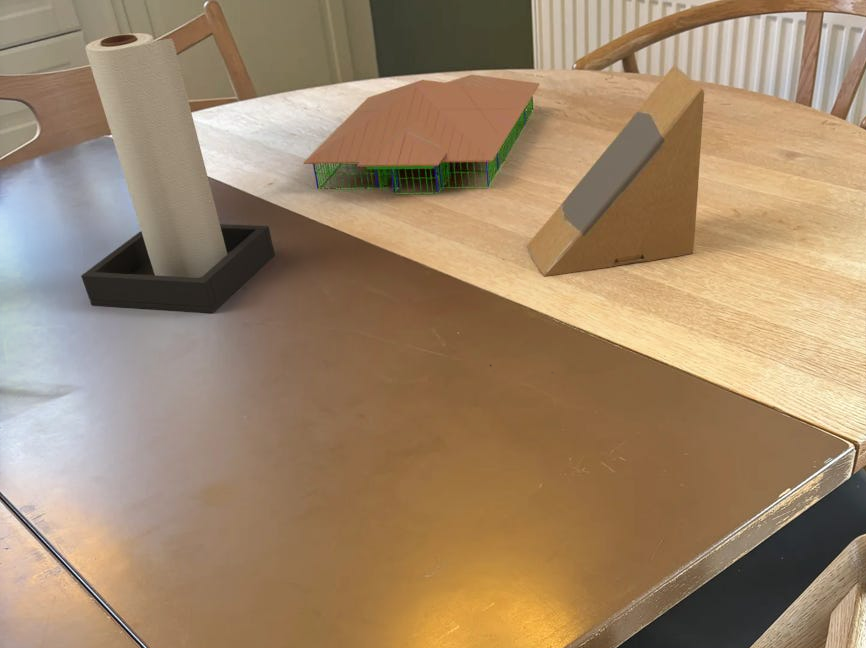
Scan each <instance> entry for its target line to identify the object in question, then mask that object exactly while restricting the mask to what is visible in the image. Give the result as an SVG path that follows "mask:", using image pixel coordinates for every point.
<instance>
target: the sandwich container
mask: <svg viewBox="0 0 866 648" xmlns="http://www.w3.org/2000/svg"><path fill="white" fill-rule="evenodd" d="M704 99H705V91H704V89H703V88H702V87H701V86H700V85H698V83H696V82H695V81H694V80H693V79H692V78H690V76H688V75H687V74H686V73H685V72H684V71H683V70H682V69H680V68H679V67H678V66H677V65H675V64H674V65H673V66H672V67H671V68H670V69H669V70H668V71H667V73H666V74H665V75H664V77H662V79H661V80H660V82H659V83H658V84H657V85H656V87H655V88H654V89H653V90H652V92H651V93H650V95H649V96H648V97H647V98H646V99H645V101H644V102H643V103H642V105H641V106H640V107H639V108H638V110H636V112H635V113H634V115H633V116H632V117H631V119H629V121H628V122H627V123H626V125H625V126H624V127H623V128H622V130H621V131H619V133H618V135H617V136H616V137H615V138H614V139H613V141H612V142H611V143H610V144H609V146H607V148H606V149H605V150H604V152H603V153H602V154H601V155H600V156H599V157H598V159H597V160H596V161H595V163H593V165H592V166H591V168H590V169H589V170H588V171H587V172H586V173H585V175H584V176H583V177H582V178H581V180H580V181H579V182H578V183H577V184H576V186H575V187H574V188H573V189H572V191H571V192H570V193H569V194H568V195H567V197H566V198H565V200H564V201H562V203H561V204H560V205H559V206H558V208H557V209H556V210H555V211H554V213H553V214H552V215H551V216H550V217H549V218H548V220H546V222H545V223H544V224H543V225H542V226H541V228H539V230H538V231H537V232H536V234H535V235H534V236H533V237H532V239H530V241H529V242H528V243H527V244H526V246H527V248H528V249H527V250H528V251H529V253H530V255H531V259H532V260H533V262H534V263H535V265H536V266H537V268H538V269H539V270H540V272H541V274H542V275H543V276H544V277H547V276H548V277H549V276H555V275H562V274H569V273H576V272H584V271H592V270H599V269H605V268H612V267H617V266H622V265H630V264H634V263H635V264H636V263H642V262H651V261H656V260H662V259H663V260H664V259H669V258H674V257H680V256H685V255H691V254H694V252H695V251H694V250H695V238H696V237H695V236H696V225H697V224H696V223H697V222H696V221H697V208H698V193H699V179H700V177H699V176H700V163H701V149H702V147H701V146H702V132H703V119H704V102H705V100H704Z"/></svg>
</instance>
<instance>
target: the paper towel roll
mask: <svg viewBox="0 0 866 648" xmlns="http://www.w3.org/2000/svg"><path fill="white" fill-rule="evenodd" d="M175 46H176V45H175V42H174V40H173V38H172V37H171V38H166V39H159V40H154V37H153V35H151V34H149V33H141V32H140V33H139V32H136V33H135V32H134V33H123V34H116V35H111V36H106V37H102V38H99V39H95V40H93V41H91V42H89V43H88V44H86V45H85V48H84V49H85V52H86V56H87V59H88V63H89V66H90V69H91V72H92V75H93V76H92V77H94V82H95V85H96V89H97V92H98V96H99V99H100V101H101V105H102V108H103V111H104V114H105V117H106V122H107V125H108V127H109V130H110V134H111V137H112V140H113V144H114V147H115V150H116V154H117V157H118V160H119V164H120V166H121V170H122V173H123V177H124V179H125V183H126V187H127V189H128V192H129V196H130V199H131V202H132V206H133V209H134V212H135V216H136V218H137V219H136V220H137V222H138V226H139V229H140V231H141V232H142V235H143V238H144V242H145V245H146V248H147V251H148V255H149V258H150V261H151V264H152V268H153V271H154V274H155V276H174V277H192V278H200V277H202V276H203V275H205V274H206V273H207V272H208V271H209V270H210V269H211V268H213V267H214V266H215V265H216V264H217V263H218V262H219V261H221V260H222V259H223V258H224V257H225V256H226V255H227V251H226V247H225V243H224V239H223V235H222V231H221V227H220V224H221V223H220V220H219V216H218V212H217V207H216V205H215V201H214V196H213V191H212V189H211V186H210V185H211V184H210V181H209V180H210V179H209V176H208V173H207V172H208V171H207V169H206V165H205V161H204V157H203V153H202V149H201V145H200V141H199V137H198V133H197V129H196V125H195V121H194V118H193V113H192V110H191V106H190V102H189V97H188V94H187V93H188V92H187V89H186V85H185V82H184V78H183V74H182V69H181V66H180V63H179V58H178V55H177V54H178V53H177V50H176V47H175Z"/></svg>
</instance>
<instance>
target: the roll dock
mask: <svg viewBox="0 0 866 648" xmlns="http://www.w3.org/2000/svg"><path fill="white" fill-rule="evenodd" d="M220 227H221V231H222V235H223V239H224V243H225V247H226V251H227V255H226V256H225V257H224V258H223V259H222V260H221V261H219V262H218V263H217V264H216V265H215V266H214V267H213V268H211V269H210V270H209V271H208V272H207V273H206V274H205V275H203V276H202V277H200V278H192V277H174V276H155V274H154V271H153V268H152V264H151V261H150V258H149V255H148V251H147V248H146V245H145V242H144V238H143V235H142V232H141V230H140V231H139V232H137V233H136V234H135V235H133V236H132V237H131V238H129V239H128V240H127V241H125V242H124V243H123V244H122V245H119V247H117V248H116V249H115V250H113V251H112V252H111V253H109V254H108V255H107V256H106V257H104V258H103V259H101V260H100V261H98V262H97V263H96V264H94V265H93V266H92V267H90V268H89V269H87V271H85V272H84V273H82V274H81V276H80V277H81V280H82V282H83V285H84V288H85V291H86V294H87V297H88V300H89V303H90V305H91V306H100V307H115V308H128V309H129V308H130V309H145V310H161V311H177V312H191V313H206V314H214V313H216V311H217V310H218V309H219V308H221V306H222V305H224V303H225V302H227V301H228V300H229V299H230V298H231V297H232V296H233V295H234V294H235V293H236V292H237V291H238V290H239V289H241V287H242V286H244V285H245V284H246V283H247V282H248V281H249V280H250V279H251V278H252V277H253V276H254V275H255V274H257V272H258V271H260V270H261V268H263V267H264V266H265V265H266V264H267V263H268V262H269V261H270V260H271V259H272V258H274V257H275V254H276V253H275V250H274V245H273V240H272V235H271V231H270V227H269V226H268V225H252V224H251V225H250V224H249V225H248V224H247V225H246V224H224V223H220Z"/></svg>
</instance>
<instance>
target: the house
mask: <svg viewBox="0 0 866 648" xmlns="http://www.w3.org/2000/svg"><path fill="white" fill-rule="evenodd" d="M539 86H540V83H539V82H532V81H525V80H517V79H510V78H501V77H495V76H494V77H493V76H486V75H477V74H470V75H466V76H462V77H460V78H456V79H452V80H450V81H446V82H445V81H435V80H427V79H421V80H418V81H415V82H412V83H408V84H405V85H402V86H399V87H396V88H393V89H390V90H387V91H383V92H381V93H377V94H374V95H371V96H368V97H367V98H366V99H365V100H364V101H363V102H362V103H361V104H360V105H359V106H358V107H357V108H356V109H355V110H353V112H352V113H351V114H350V115H349V116H348V117H346V119H345V120H344V121H343V122H342V123H341V124H340V125H339V126H338V127H337V128H335V130H334V131H333V132H332V133H331V134H329V136H328V137H327V138H326V139H325V140H324V141H323V142H322V143H321V144H320V145H319V146H318V147H317V148H316V149H315V150H313V152H312V153H311V154H310V155H309V156H308V157H307V158H306V159H305V160H303V164H304V165H308V164H309V165H312V167H313V172H314V177H315V183H316V189H318V190H324V188H326V184H325V182H326V181H327V180H328V179H329V186H330V187H332V183H331V176H332V175H334V178H335V184H336V187H335V188H336V189H339V190H342V189H346V190H348V189H357V190H358V189H359V187H358V186H357V179H356V175H355V174H357V175H358V172H355V166H354V165H356V166H357V167H359V174H360V181H361V189H364V183H363V177H362V175H366V177H367V185H368V189H371V187H370V181H369V175H368V174H369V173H368V170H370V176H371V182H372V189H375V185H374V179H373V175H375V180H376V189H383V188H384V186H385V185H386V189H389V186H388V182H389V180H390V179H391V183H392V191H393V194H394V195H396V194H397V195H399V194H400V195H403V194H407V195H409V194H410V195H413V194H414V195H415V194H422V195H423V194H427V195H428V194H435V192H434V187H433V185H431V192H429V186H428V184H426V190H427V192H423V191H422V183H421V181H419V186H420V187H419V188H420V192H416V189H415V181H414V180H416V179H417V180H418V179H419V180H421V179H425V181H426V182H425V183H428V179H429V180H430V182H431V184H433V179H435V183H436V184H435V185H436V194H440V193H441V191H442V189H489V188H490V187H491V185H492V183H493V181H494V180H495V178H496V176H497V175H496V174H498V173H499V171H500V170H499V169H501V168H499V167H500V166H501V167H502V166H503V164H504V163H503V160H504V159H505V158H506V156H507V153H508V152H509V151H510V149H511V147H512V146H513V145H514V146H515V144H514V142H515V140H516V138H517V136H518V135H519V134H520V132H521V130H522V128H523V126H524V125H525V124H526V121H527V119H528V117H529V115H531V114H530V113H532V110H533V111H534V95H535V93H536V91H537V89H538V88H539ZM526 109H527V111H526ZM526 125H527V124H526ZM521 133H522V132H521ZM520 135H521V134H520ZM515 143H516V142H515ZM511 150H512V149H511ZM510 152H511V151H510ZM507 157H508V156H507ZM506 159H507V158H506ZM451 163H452V164H451ZM458 163H459V168H460V169H459V170H462V163H465V165H466V170H469V164H468V163H473V164H472V170H474V171H455V170H456V169H455V166H457V167H458ZM475 163H478V165H479V167H480V170H481V171H475V170H476V166H475ZM481 163H484V164H485V170H486V171H485V177H486V186H484V182H483V178H481V183H482V184H481V186H470V184H468V186H464V184H463V183H464V182H463V181H461V186H457V180H456V177H454V183H455V186H450V184H448V186H446V187H445V185H446V184H447V183H450V178H451V176H452V175H451V174H454V176H456V174H459V173H460V176H461V179H463V174H467V180H468V182H470V174H471V173H474V174H481V176H483V171H482V170H483V168H482V165H481ZM502 163H503V164H502ZM341 165H345V168H346V172H342V166H341ZM348 165H352V170H353V172H349V169H348ZM446 166H447V167H446ZM450 166H453V167H452V172H451V167H450ZM361 167H365V170H366V171H365V172H362V170H361ZM337 169H340V173H337V172H336V170H337ZM372 170H374V172H372ZM400 170H404V172H405V177H401V174H400V173H398V172H400ZM407 170H411V176H412V177H411V178H412V184H413V185H412V186H413V190H414V191H413V192H409V185H408V177H407ZM413 170H418V177H414V172H413ZM420 170H424V171H425V174H427V170H429V173H430V175H432V170H433V176H434V177H433V176H430V177H427V176H428V175H425V177H423V176H422V177H421V176H420V175H421V173H420ZM439 170H440V171H439ZM453 170H454V171H453ZM489 170H490V171H489ZM491 170H492V171H491ZM494 170H495V171H494ZM497 170H498V171H497ZM437 173H438V174H437ZM343 174H344V175H345V174H347V179H348V180H347V181H348V185H349V187H345V184H344V179H343ZM337 175H341V181H342V182H341V183H342V187H339V186H338V182H337V181H338V180H337ZM350 175H354V176H353V177H354V184H355V187H351V182H350ZM328 177H329V178H328ZM476 177H477V176H476V175H474V182H475V183H474V185H477V178H476ZM327 178H328V179H327ZM326 179H327V180H326ZM403 179H404V180H406V181H405V183H406V188H407V189H406V190H407V192H403V189H402V183H401V180H403ZM493 179H494V180H493ZM322 186H323V187H322ZM330 187H327V188H328V189H327V190H329V188H330ZM320 188H321V189H320ZM340 188H341V189H340ZM399 189H400V192H398V190H399Z"/></svg>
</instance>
